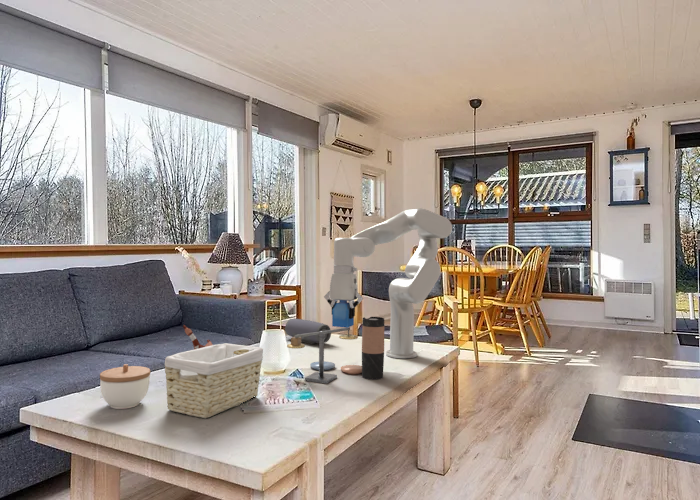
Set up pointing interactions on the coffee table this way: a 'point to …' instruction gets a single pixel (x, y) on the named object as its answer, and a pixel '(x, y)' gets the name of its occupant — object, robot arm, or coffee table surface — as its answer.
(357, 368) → the peach glossy round dome
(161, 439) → the coffee table surface
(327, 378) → the balance
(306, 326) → the bluetooth speaker
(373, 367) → the travel mug
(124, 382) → the lidded bowl
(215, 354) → the storage basket
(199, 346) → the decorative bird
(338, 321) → the perfume bottle
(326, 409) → the coffee table surface
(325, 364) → the pale blue dome
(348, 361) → the coffee table surface
